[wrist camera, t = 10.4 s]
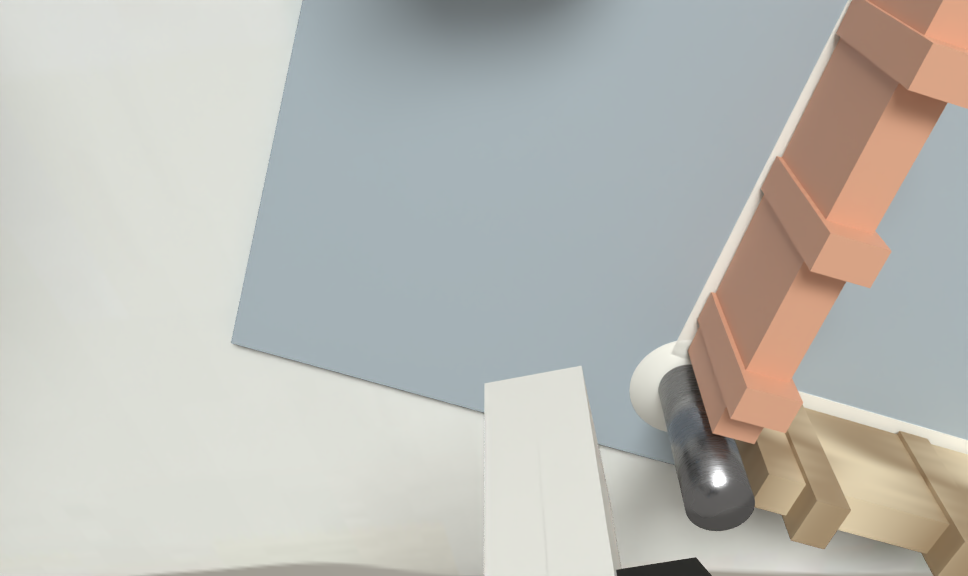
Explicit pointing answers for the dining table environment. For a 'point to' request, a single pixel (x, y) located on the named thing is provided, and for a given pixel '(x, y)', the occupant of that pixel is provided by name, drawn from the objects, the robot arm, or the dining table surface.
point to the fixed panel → (863, 487)
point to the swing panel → (826, 206)
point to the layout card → (579, 207)
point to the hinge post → (703, 457)
